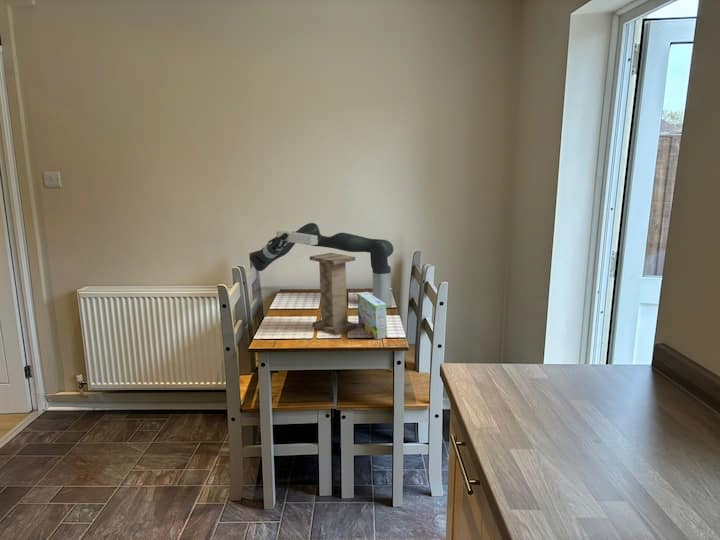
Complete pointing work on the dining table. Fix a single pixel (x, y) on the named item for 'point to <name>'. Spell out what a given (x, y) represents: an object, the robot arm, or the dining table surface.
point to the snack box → (372, 315)
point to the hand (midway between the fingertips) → (290, 233)
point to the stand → (333, 293)
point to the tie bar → (299, 238)
